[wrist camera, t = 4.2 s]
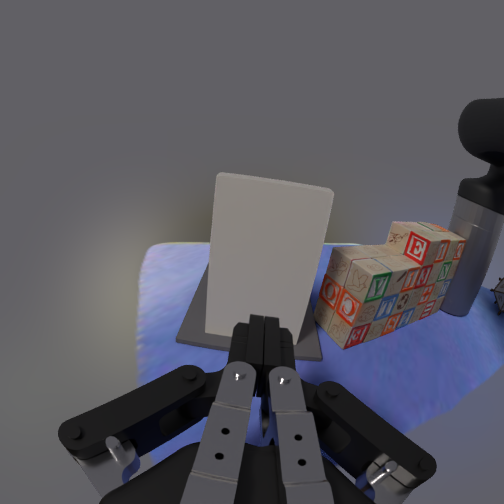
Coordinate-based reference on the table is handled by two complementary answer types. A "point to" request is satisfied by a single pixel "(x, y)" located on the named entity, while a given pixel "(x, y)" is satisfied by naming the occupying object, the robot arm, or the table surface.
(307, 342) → the mat
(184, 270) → the table surface
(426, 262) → the stack of blocks
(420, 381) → the table surface
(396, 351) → the table surface
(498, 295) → the game die
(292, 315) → the tile
